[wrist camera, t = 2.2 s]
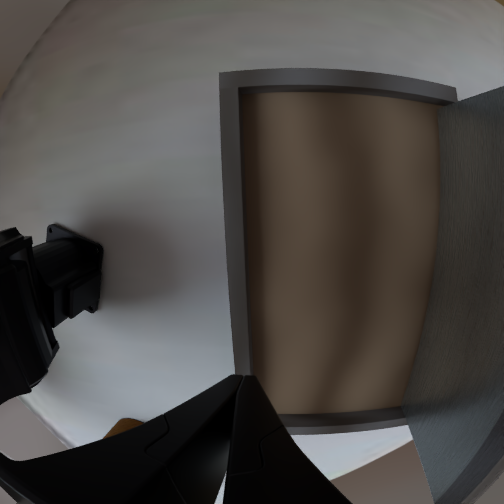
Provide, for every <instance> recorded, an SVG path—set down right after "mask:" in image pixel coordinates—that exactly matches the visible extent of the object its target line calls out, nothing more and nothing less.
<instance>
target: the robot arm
mask: <svg viewBox="0 0 504 504" xmlns="http://www.w3.org/2000/svg"><path fill="white" fill-rule="evenodd" d="M32 244H33V241H32V236H26V237H24V236H23V235H21V234H20V233H19V231H18V230H17V229H16V227H13V228H9V229H6V230H2V231H0V405H1V404H2V403H4V402H6V401H7V400H9V399H11V398H14V397H16V396H19V395H23V394H27V393H30V392H31V391H32V390H31V388H33V387H34V386H36V385H37V384H38V383H39V382H40V381H41V380H42V379H43V378H44V377H45V376H46V375H47V373H48V367H49V366H50V364H51V362H52V360H53V358H54V357H55V355H56V353H57V351H58V350H59V348H60V347H59V344H58V341H56V339H55V336H54V333H53V330H52V328H55V327H56V326H57V325H59V324H60V323H61V322H63V321H64V320H65V319H67V318H68V317H69V318H70V319H72V318H74V317H75V316H76V315H78V314H79V313H80V312H82V311H83V310H86V311H88V312H90V313H94V312H96V311H97V309H98V299H99V297H100V285H101V276H102V273H101V266H102V258H103V247H102V245H100V244H99V243H96V242H94V241H92V240H89V239H87V238H85V237H82V236H80V235H78V234H75V233H73V232H71V231H68V230H66V229H64V228H61V227H59V226H57V225H55V224H51V225H49V226H48V227H47V238H46V242H45V243H42V244H39V245H37V246H34V247H32ZM96 248H97V249H98V252H97V250H96ZM91 306H92V307H93V308H92V307H91ZM226 471H227V473H226ZM225 473H226V480H225V489H224V497H223V504H352V503H351V502H350V501H349V500H348V499H347V498H346V497H345V496H344V495H343V494H342V493H341V492H340V491H339V490H338V489H337V488H336V487H335V486H334V485H333V484H332V483H331V482H330V481H329V480H328V479H327V478H326V477H325V476H324V475H323V474H322V472H321V471H320V470H319V469H318V468H317V467H316V466H315V465H314V464H313V463H312V462H311V461H310V460H309V459H308V457H307V456H306V455H305V454H304V453H303V452H302V451H301V449H300V448H299V447H298V446H297V444H296V443H295V442H294V440H293V439H292V437H291V436H290V434H289V433H288V431H287V429H286V427H285V426H284V424H283V423H282V421H281V419H280V417H279V416H278V414H277V412H276V410H275V409H274V407H273V405H272V403H271V401H270V400H269V398H268V396H267V394H266V392H265V391H264V389H263V387H262V385H261V383H260V381H259V380H258V378H257V376H255V375H245V376H243V375H236V374H232V375H230V376H228V377H227V378H225V379H223V380H222V381H220V382H218V383H217V384H215V385H213V386H212V387H210V388H208V389H207V390H205V391H203V392H202V393H200V394H198V395H196V396H195V397H193V398H191V399H189V400H188V401H186V402H184V403H182V404H181V405H179V406H177V407H175V408H173V409H171V410H170V411H168V412H166V413H164V414H161V415H159V416H158V417H156V418H154V419H152V420H150V421H148V422H145V423H143V424H141V425H139V426H136V427H134V428H132V429H129V430H127V431H124V432H121V433H118V434H116V435H113V436H110V437H107V438H104V439H101V440H98V441H95V442H92V443H89V444H86V445H82V446H79V447H76V448H72V449H69V450H66V451H62V452H58V453H54V454H51V455H47V456H43V457H38V458H34V459H30V460H25V461H14V460H11V459H9V458H7V457H6V456H5V455H3V454H2V453H1V452H0V486H1V487H2V488H3V489H4V490H5V491H6V492H7V493H8V494H9V495H10V496H11V497H12V498H13V499H14V500H15V501H16V502H17V504H214V503H215V501H216V498H217V495H218V493H219V490H220V487H221V484H222V482H223V479H224V476H225Z"/></svg>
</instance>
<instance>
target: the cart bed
mask: <svg viewBox="0 0 504 504" xmlns="http://www.w3.org/2000/svg"><path fill="white" fill-rule="evenodd" d="M219 91H220V127H221V156H222V180H223V201H224V220H225V238H226V255H227V271H228V286H229V301H230V314H231V328H232V340H233V353H234V364H235V374H236V375H243V376H245V375H255V376H257V378H258V380H259V381H260V383H261V385H262V387H263V389H264V391H265V392H266V394H267V396H268V398H269V400H270V401H271V403H272V405H273V407H274V409H275V410H276V412H277V414H278V416H279V417H280V419H281V421H282V423H283V424H284V426H285V427H286V429H287V431H288V433H289V434H290V435H314V434H335V433H348V432H359V431H368V430H376V429H384V428H391V427H397V426H403V425H408V424H407V421H406V418H405V416H404V413H403V411H402V408H401V403H402V400H403V397H404V394H405V391H406V388H407V385H408V382H409V379H410V375H411V372H412V369H413V365H414V362H415V358H416V355H417V351H418V347H419V343H420V339H421V335H422V331H423V327H424V322H425V317H426V313H427V308H428V303H429V297H430V291H431V286H432V279H433V272H434V265H435V257H436V249H437V239H438V227H439V211H440V142H439V127H438V115H437V109H439V108H442V107H445V106H447V105H450V104H453V103H456V102H458V100H457V93H456V88H455V87H451V86H447V85H443V84H438V83H434V82H429V81H424V80H419V79H414V78H408V77H402V76H396V75H389V74H382V73H374V72H364V71H353V70H340V69H317V68H279V69H257V70H243V71H232V72H222V73H219Z"/></svg>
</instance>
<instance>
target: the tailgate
mask: <svg viewBox="0 0 504 504" xmlns="http://www.w3.org/2000/svg"><path fill="white" fill-rule="evenodd" d="M437 115H438V127H439V142H440V211H439V227H438V239H437V249H436V257H435V265H434V272H433V279H432V286H431V291H430V297H429V303H428V308H427V313H426V317H425V322H424V327H423V331H422V335H421V339H420V343H419V347H418V351H417V355H416V358H415V362H414V365H413V369H412V372H411V375H410V379H409V382H408V385H407V388H406V391H405V394H404V397H403V400H402V403H401V408H402V411H403V413H404V416H405V418H406V421H407V424H408V426H409V429H410V432H411V434H412V437H413V440H414V442H415V445H416V448H417V451H418V454H419V457H420V460H421V463H422V466H423V469H424V472H425V475H426V478H427V481H428V484H429V487H430V491H431V494H432V497H433V501H434V504H473V503H474V502H475V501H476V500H478V499H479V498H480V496H482V495H483V494H484V493H485V492H486V490H487V489H488V488H489V487H490V486H491V485H492V484H493V483H494V482H495V481H496V480H497V479H498V478H499V476H500V475H501V474H502V473H503V472H504V86H503V87H500V88H497V89H493V90H490V91H487V92H484V93H481V94H478V95H476V96H473V97H470V98H467V99H464V100H461V101H458V102H456V103H453V104H450V105H447V106H445V107H442V108H439V109H437Z"/></svg>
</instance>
